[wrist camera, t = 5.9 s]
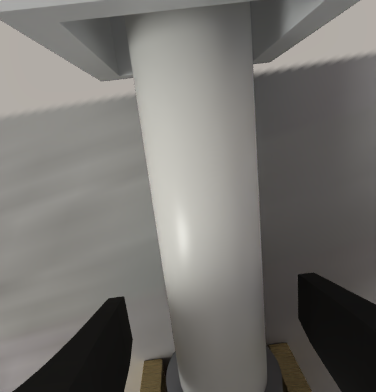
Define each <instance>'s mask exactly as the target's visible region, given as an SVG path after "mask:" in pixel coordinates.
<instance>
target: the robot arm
mask: <svg viewBox="0 0 376 392" xmlns="http://www.w3.org/2000/svg"><path fill="white" fill-rule="evenodd" d="M298 318H299V320H300V322H301V325H302V327H303V329H304V331H305V333H306V335H307V337H308V339H309V341H310V343H311V345H312V346H313V348H314V349H315V351H316V353H317V354H318V356H319V357H320V359H321V360H322V362H323V364H324V365H325V367H326V368H327V370H328V371H329V373H330V374H331V376H332V377H333V379H334V381H335V382H336V384H337V385H338V387H339V388H340V390H341V391H342V392H376V304H374V303H372V302H370V301H368V300H366V299H364V298H362V297H360V296H358V295H356V294H354V293H352V292H350V291H348V290H346V289H344V288H342V287H341V286H339V285H337V284H335V283H333V282H331V281H329V280H327V279H325V278H323V277H321V276H319V275H317V274H315V273H307V274H299V275H298ZM132 340H133V339H132V334H131V329H130V324H129V319H128V314H127V309H126V304H125V299H124V297H116V298H109V299H108V300H107V301H106V302H105V303H104V304H103V305H102V306H101V307H100V308H99V309H98V311H97V312H96V313H95V314H94V315H93V316H92V317H91V318H90V319H89V321H88V322H87V323H86V324H85V325H84V326H83V327H82V328H81V329H80V330H79V331H78V332H77V334H76V335H75V336H74V337H73V338H72V339H71V340H70V341H69V342H68V343H67V344H66V345H65V346H64V347H63V348H62V349H61V350H60V351H59V352H58V353H57V354H55V355H54V356H53V357H52V358H51V359H50V360H49V361H48V362H47V363H46V364H45V365H44V366H43V367H42V368H40V369H39V370H38V371H37V372H36V373H35V374H33V375H32V376H31V377H30V378H29V379H28V380H26V381H25V382H24V383H23V384H22V385H20V386H19V387H18V388H17V389H15V390H14V391H13V392H124V389H125V384H126V380H127V376H128V371H129V366H130V359H131V350H132Z"/></svg>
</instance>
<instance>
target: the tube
mask: <svg viewBox="0 0 376 392" xmlns="http://www.w3.org/2000/svg"><path fill="white" fill-rule="evenodd" d="M124 19H125V26H126V32H127V39H128V45H129V52H130V58H131V65H132V71H133V78H134V84H135V91H136V97H137V104H138V110H139V117H140V123H141V130H142V136H143V143H144V149H145V156H146V163H147V169H148V176H149V182H150V189H151V195H152V202H153V208H154V215H155V221H156V228H157V234H158V241H159V247H160V254H161V260H162V267H163V273H164V280H165V286H166V293H167V299H168V306H169V312H170V319H171V325H172V332H173V339H174V345H175V352H174V354H173V356H172V358H171V360H170V362H169V365H168V368H167V374H166V385H167V391H168V392H283V386H282V374H281V369H280V366H279V363H278V361H277V359H276V357H275V356H274V354H273V353H272V352H271V350H270V349H269V348H268V347H267V346H266V336H265V315H264V293H263V271H262V250H261V228H260V206H259V185H258V163H257V142H256V120H255V98H254V77H253V55H252V33H251V12H250V1H248V2H239V3H230V4H221V5H212V6H203V7H193V8H184V9H175V10H166V11H157V12H148V13H139V14H130V15H124Z"/></svg>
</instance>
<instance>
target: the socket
mask: <svg viewBox="0 0 376 392" xmlns="http://www.w3.org/2000/svg"><path fill="white" fill-rule="evenodd" d="M269 349H270V350H271V352H272V353H273V354H274V356H275V357H276V359H277V361H278V363H279V366H280V369H281V374H282V386H283V392H312V391H311V389H310V387H309V385H308V383H307V381H306V379H305V377H304V375H303V373H302V372H301V370H300V368H299V366H298V364H297V362H296V360H295V358H294V356H293V354H292V352H291V350H290V348H289V346H288V344H287V343H281V344H273V345H269ZM140 392H168V391H167V385H166V378H165V373H164V367H163V361H162V359H157V360H149V361H144V367H143V374H142V381H141V389H140Z"/></svg>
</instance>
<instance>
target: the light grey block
mask: <svg viewBox="0 0 376 392" xmlns="http://www.w3.org/2000/svg"><path fill="white" fill-rule="evenodd" d="M248 1H250V12H251V33H252V55H253V64H257V63H267V62H271V61H272V60H274V59H275V58H277V57H278V56H280V55H281V54H283V53H284V52H286V51H287V50H289V49H290V48H291V47H293V46H294V45H296V44H297V43H299V42H300V41H302V40H303V39H305V38H306V37H307V36H309V35H310V34H312V33H313V32H315V31H316V30H318V29H319V28H321V27H322V26H323V25H325V24H326V23H328V22H329V21H331V20H332V19H334V18H335V17H336V16H338V15H340V14H341V13H343V12H344V11H345V10H347V9H348V8H350V7H351V6H353V5H354V4H356V3H357V2H358V1H360V0H0V20H1V21H3V22H4V23H6V24H8V25H9V26H11V27H13V28H14V29H16V30H18V31H19V32H21V33H22V34H24V35H26V36H27V37H29V38H31V39H32V40H34V41H36V42H37V43H39V44H40V45H42V46H44V47H45V48H47V49H49V50H50V51H52V52H54V53H55V54H57V55H59V56H60V57H62V58H64V59H65V60H67V61H68V62H70V63H72V64H73V65H75V66H77V67H78V68H80V69H82V70H83V71H85V72H87V73H88V74H90V75H91V76H93V77H95V78H97V79H98V80H100V81H110V80H118V79H127V78H133V71H132V65H131V58H130V52H129V45H128V39H127V32H126V26H125V19H124V15H130V14H139V13H148V12H157V11H166V10H175V9H184V8H193V7H203V6H212V5H221V4H230V3H239V2H248Z"/></svg>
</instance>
